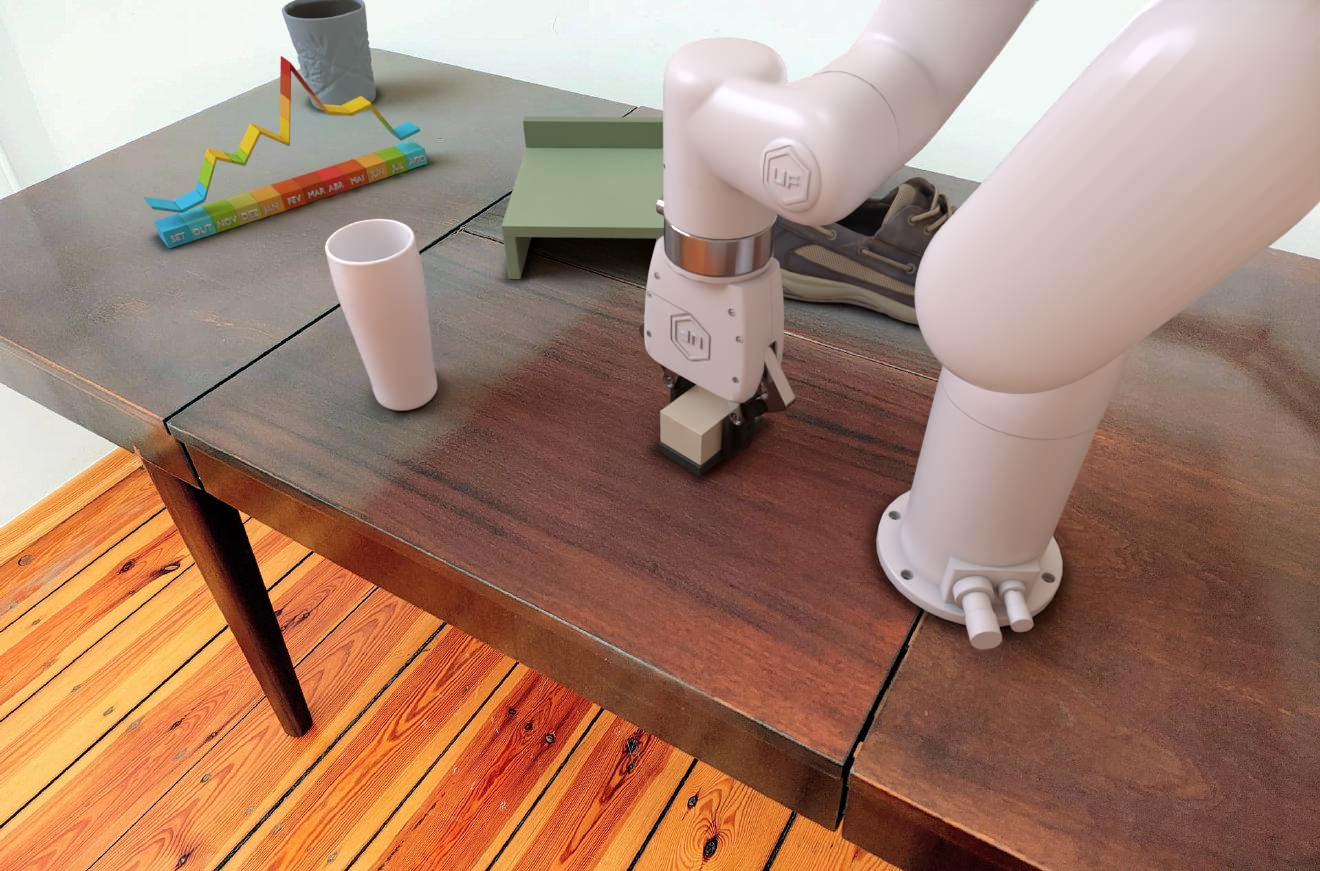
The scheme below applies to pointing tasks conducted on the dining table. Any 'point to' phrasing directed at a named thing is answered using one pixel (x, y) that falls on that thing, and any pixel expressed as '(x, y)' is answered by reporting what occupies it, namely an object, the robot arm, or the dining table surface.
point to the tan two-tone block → (695, 429)
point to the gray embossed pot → (332, 48)
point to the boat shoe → (864, 251)
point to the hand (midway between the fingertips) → (710, 433)
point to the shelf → (585, 182)
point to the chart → (288, 191)
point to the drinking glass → (386, 308)
